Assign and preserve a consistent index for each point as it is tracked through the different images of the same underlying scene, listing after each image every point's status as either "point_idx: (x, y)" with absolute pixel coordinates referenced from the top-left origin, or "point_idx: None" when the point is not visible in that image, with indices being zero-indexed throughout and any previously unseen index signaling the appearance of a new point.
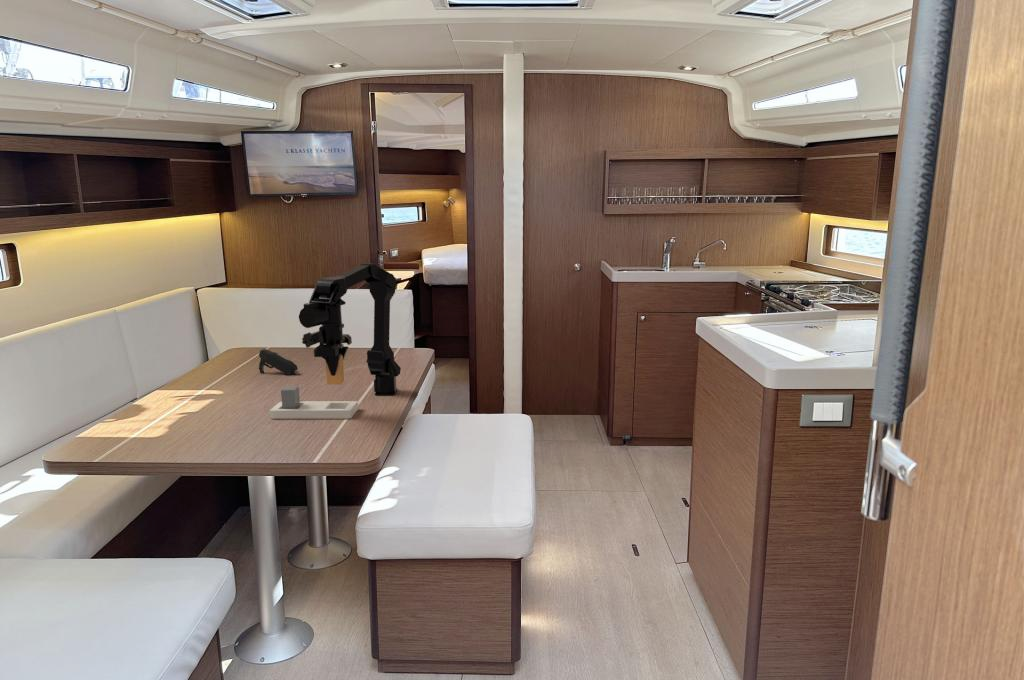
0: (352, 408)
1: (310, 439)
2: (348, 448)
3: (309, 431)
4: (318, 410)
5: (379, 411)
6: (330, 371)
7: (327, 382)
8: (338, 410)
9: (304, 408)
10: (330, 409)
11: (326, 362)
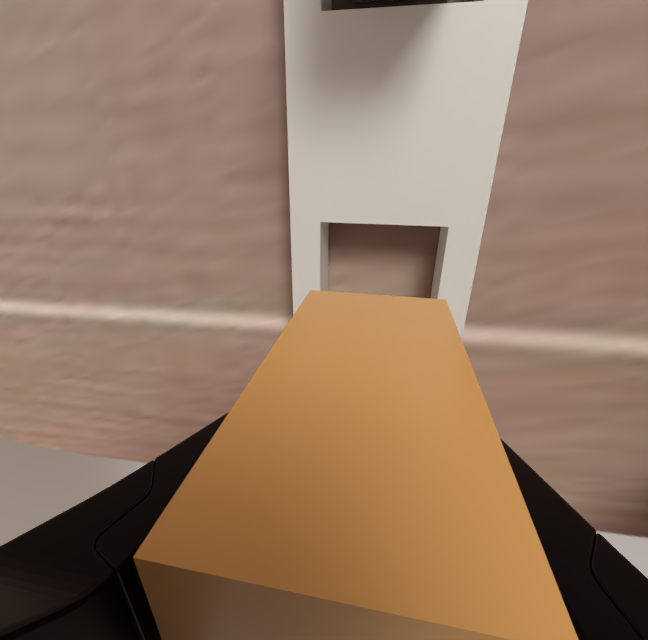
0: None
1: (46, 231)
2: (25, 375)
3: (124, 196)
4: (289, 191)
5: None
6: None
7: (306, 301)
8: (293, 306)
9: (330, 68)
10: (309, 259)
11: (76, 506)
